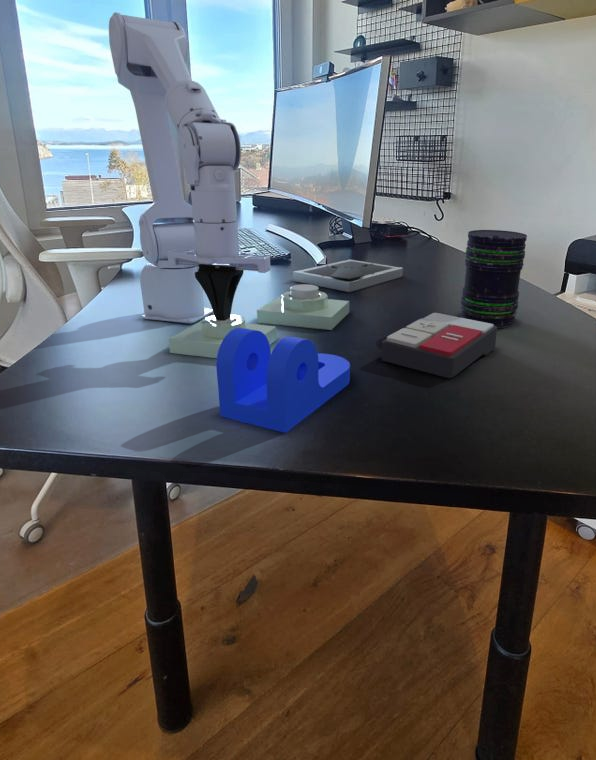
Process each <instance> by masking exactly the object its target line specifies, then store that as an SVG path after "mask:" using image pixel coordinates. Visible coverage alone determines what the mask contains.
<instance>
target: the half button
mask: <svg viewBox="0 0 596 760" xmlns="http://www.w3.org/2000/svg"><path fill="white" fill-rule="evenodd" d="M234 322H235V318H234V317H233V316H231V317H230V318H228V319H226V320H224V321H223V320H216V319H215V317H213V318H212V323H214V324H229V323H234Z"/></svg>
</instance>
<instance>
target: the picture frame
mask: <svg viewBox="0 0 596 760" xmlns="http://www.w3.org/2000/svg"><path fill="white" fill-rule="evenodd" d="M403 273H404V267H401V266H400V267H399V266H393V265H387V264H380V263H373V262H367V261H362V260H355V259H346V260H341V261H335V262H331V263H326V264H323V265H317V266H314V267H309V268H304V269H300V270H299V269H298V270H294V271H292V281H293V282H296V283H301V284H307V285H315V286H317V287H321V288H326V289H330V290H336V291H341V292H345V293H351V292H355V291H359V290H362V289H365V288H368V287H372V286H376V285H379V284H383V283H386V282H389V281H393V280H396V279H401V278H403Z"/></svg>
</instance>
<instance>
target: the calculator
mask: <svg viewBox="0 0 596 760" xmlns="http://www.w3.org/2000/svg"><path fill="white" fill-rule="evenodd" d="M497 332H498V328H497V326H494V325H493V324H490V323H485V322H480V321H475V320H470V319H465V318H460V316H455V315H449V314H443V313H439V312H432V313H430V314H429V315H427V316H425V317H423V318H419V319H417V320H415V321H413V322H412V323H410V324H408V325H406V326H405V327H402V328H401V329H399V330H397V331H395V332H393V333H390V334H389V335H388V336H386V338H384V339H383V340H382V341H381V342H382V343H381V360H382V361H383V362H386V363H390V364H393V365H396V366H400V367H404V368H408V369H411V370H414V371H415V370H416V371H419V372H424V373H427V374H431V375H434V376H439V377H442V378H446V379H453V378H455V376H457V375H458V374H459V373H461V372H462V371H463V370H464V369H466V368H467V367H469V366H470V365H471V364H473V363H474V362H475V361H477V360H478V359H479V358H481V356H487V355H489V354H490V353H492V351H494V350H495V349H496V343H497V334H498V333H497Z"/></svg>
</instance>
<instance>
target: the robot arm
mask: <svg viewBox="0 0 596 760" xmlns="http://www.w3.org/2000/svg"><path fill="white" fill-rule="evenodd" d="M108 40H109V41H108V42H109V47H110V48H109V49H110V53H111V59H112V64H113V70H114V73H115V75H116V78H117V83H118V84H120V85H121V86H123V87H124V88H126V89H127V90H128V91H129V92H130V95H131V98H132V103H133V106H134V110H135V114H136V120H137V125H138V130H139V135H140V140H141V146H142V150H143V156H144V160H145V166H146V171H147V176H148V182H149V187H150V193H151V197H152V204H151V205H150V206H149V207H147V208H146V209H145V210H144V211H143V212H142V213H141V214H140V217H139V220H138V226H139V242H140V247H141V252H142V255H143V257H144V259H145V261H147V262H148V263H146V264H145V265H144V266H143V268H141V272H140V276H139V284H140V291H141V298H142V305H143V312H144V314H143V315H141V318H142V320H153V321H161V322H162V321H163V322H170V323H171V322H172V323H182V324H194V323H197V322H198V321H201V320H202V319H204V318H206V317H208V316H210V315H211V314H213V316H214V315H215V319H216V320H223V321H224V320H226V319H228V318H230V317H231V315H232V308H233V303H234V298H235V295H236V291H237V289H238V286H239V284H240V281H241V279H242V277H243V275H244V271H250V272H258V273H259V274H266V273H268V272H270V271H271V256H270V255H269V256H268V255H260V254H253V253H247V252H242V251H240V243H239V242H240V241H239V227H238V225H239V224H238V210H237V193H236V180H235V179H236V178H235V171H236V170H238V168H239V167H240V164H241V159H242V158H241V157H242V146H241V145H242V144H241V139H240V135H239V132H238V130H237V127H236V125H235V124H234V123H232V122H230V121H229V122H228V121H227V120H226V119H222V118H220V116H219V114H218V112H217V111H216V109H215V107H214V105H213V103H212V100H211V99H210V97H209V95H208V93H207V91H206V89H205V88H204V87H203V85H201V84H200V83H199V82H197V81H194V80H193V79H192V76H191V75H190V72H189V69H188V66H187V62H188V56H189V55H188V54H189V46H188V38H187V34H186V31H185V29H184V28H183V26H182V25H181V23H180V22H179V21H165V20H164V21H163V20H158V19H152V18H146V17H139V16H133V15H132V16H131V15H127V14H121V13H120V12H113V13H112V15H111V16H110V17H109V21H108ZM170 119H171V121H172V124H173V125H174V128H175V129H176V132H177V134H178V137H179V138H178V143H179V145H178V147H179V154H180V159H181V162H182V165H183V169H184V176H185V180H186V184H187V185H189V189H190V198H191V199H190V200H191V204H190V203H188V202H187V201H186V200H185V195H184V190H183V185H182V180H181V176H180V175H181V174H180V169H179V163H178V158H177V154H176V152H177V151H176V147H175V142H174V136H173V131H172V125H171V121H170ZM204 293H205V295H206V297H207V299H208V301H209V304H210V307H211V308H208V307H205V299H204Z"/></svg>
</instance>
